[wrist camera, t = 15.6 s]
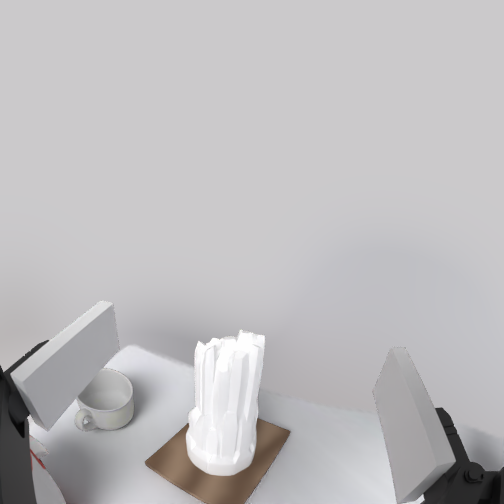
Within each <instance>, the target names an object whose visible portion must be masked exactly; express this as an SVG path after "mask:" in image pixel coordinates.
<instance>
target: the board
mask: <svg viewBox="0 0 504 504" xmlns="http://www.w3.org/2000/svg"><path fill="white" fill-rule="evenodd" d="M188 428H189V423H188V424H187V425H186V426H185V427H183V428H182V429H181V430H180V431H179V432H178V433H177V434H176V435H175V436H174V437H172V438H171V439H170V440H169V441H168V442H167V443H166V444H165V445H164V446H162V447H161V448H160V449H159V450H158V451H157V452H156V453H154V454H153V455H152V456H151V457H150V458H149V459H147V460H146V461H145V464H146V466H148V467H149V468H150V469H152V470H153V471H155V472H156V473H157V474H159V475H160V476H162V477H163V478H165V479H166V480H168V481H169V482H171V483H172V484H174V485H176V486H177V487H179V488H180V489H182V490H184V491H185V492H187V493H189V494H190V495H192V496H194V497H195V498H197V499H199V500H201V501H203V502H204V503H206V504H244V503H245V502H246V500H247V499H248V498H249V496H250V495H251V494H252V492H253V491H254V489H255V488H256V486H257V485H258V483H259V482H260V481H261V479H262V478H263V476H264V475H265V473H266V472H267V470H268V469H269V467H270V465H271V464H272V462H273V461H274V459H275V458H276V456H277V454H278V453H279V451H280V450H281V448H282V446H283V445H284V443H285V441H286V440H287V438H288V436H289V434H290V432H291V431H289V430H286V429H283V428H281V427H278V426H276V425H273V424H271V423H268V422H266V421H263V420H261V419H259V418H257V422H256V448H255V453H254V458H253V460H252V463H251V464H250V465H249V467H247V468H245V469H244V470H242V471H240V472H238V473H236V474H235V475H231V476H218V475H210V474H209V473H208V474H207V473H205V472H204V471H202V470H201V469H199V468H198V467H197V466H195V465H194V464H193V463H192V461H191V460H190V458H189V456H188V452H187V444H186V433H187V431H188Z"/></svg>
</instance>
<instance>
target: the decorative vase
mask: <svg viewBox="0 0 504 504" xmlns="http://www.w3.org/2000/svg"><path fill="white" fill-rule="evenodd" d="M264 347H265V335H256V334H255V333H253V334H252V332H245V331H244V330H242V329H240V331H239V333H238V336H237V337H231V336H227V337H224V338H221V340H220V339H216V338H212V340H211V341H210V342H209V343H207V344H206V345H205V344H204V343H203V342H201V341H198V344H197V347H196V350H195V408H193V409H192V410H191V411H190V412H188V416H189V428H188V431H187V433H186V444H187V452H188V456H189V458H190V460H191V461H192V463H193V464H194V465H195V466H197V467H198V468H199V469H201V470H202V471H204V472H205V473H207V474H208V473H209V474H210V475H218V476H231V475H235V474H236V473H238V472H240V471H242V470H244V469H245V468H247V467H249V465H250V464H251V463H252V460H253V458H254V453H255V448H256V422H257V417H258V411H259V404H258V399H257V398H258V392H259V386H260V381H261V375H262V369H263V356H264Z"/></svg>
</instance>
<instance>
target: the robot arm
mask: <svg viewBox="0 0 504 504" xmlns="http://www.w3.org/2000/svg"><path fill="white" fill-rule="evenodd" d="M119 349H120V346H119V340H118V334H117V328H116V320H115V313H114V305H113V303H109V302H105V301H100V302H98V303H97V304H96V305H95V306H93V307H92V308H91V309H90V310H88V311H87V312H85V313H84V314H83V315H82V316H80V317H79V318H78V319H76V320H75V321H74V322H73V323H71V324H70V325H69V326H67V327H66V328H65V329H64V330H62V331H61V332H60V333H59V334H57V335H56V336H55V337H54V338H52V339H51V340H50V341H49V340H47V341H44V342H42V343H40V344H38V345H37V346H35V347H34V348H33V349H32V350H31V351H29V352H28V353H27V354H25V356H23V357H22V358H21V359H19V360H18V361H17V362H16V363H15V364H13V365H12V366H11V367H10V368H9V369H7V370H6V371H5V372H3V370H2V368H1V366H0V504H37V501H36V496H35V490H34V483H33V476H32V467H31V456H30V441H29V422H28V419H27V417H28V416H29V415H31V416H32V418H33V420H34V422H35V423H36V424H37V425H39V426H40V427H42V428H43V429H45V430H46V431H49V430H50V428H51V427H52V426H53V425H54V424H55V422H56V421H57V420H58V419H59V418H60V416H61V415H62V414H63V413H64V412H65V411H66V409H67V408H68V407H69V406H70V405H71V404H72V402H73V401H74V400H75V399H76V398H77V397H78V395H79V394H80V393H81V392H82V391H83V390H84V389H85V387H86V386H87V385H88V384H89V383H90V382H91V381H92V379H93V378H94V377H95V376H96V375H97V374H98V373H99V372H100V370H101V369H102V368H103V367H104V366H105V365H106V364H107V363H108V361H109V360H110V359H111V358H112V357H113V356H114V355H115V354H116V353H117V351H118V350H119ZM373 395H374V399H375V403H376V406H377V410H378V414H379V418H380V422H381V426H382V431H383V435H384V439H385V444H386V448H387V453H388V458H389V462H390V467H391V472H392V478H393V483H394V488H395V494H396V500H397V504H401V503H407V502H412V501H415V500H417V499H418V498H419V497H420V496H421V495H422V494H424V499H425V500H424V501H423V502H422V503H421V504H504V467H503V468H502V469H501V470H500V471H485V470H484V469H483V468H482V466H481V465H479V464H477V463H474V462H470V461H469V459H468V456H467V454H466V451H465V449H464V447H463V444H462V442H461V439H460V437H459V435H458V434H457V430H456V428H455V427H454V424H453V421H452V419H451V417H450V415H449V414H448V413H447V412H446V411H445V410H444V409H443V408H434V406H433V403H432V401H431V399H430V397H429V395H428V393H427V390H426V388H425V386H424V384H423V382H422V380H421V378H420V376H419V374H418V372H417V370H416V368H415V366H414V364H413V362H412V360H411V358H410V356H409V354H408V352H407V350H406V348H402V347H391V348H390V351H389V353H388V356H387V358H386V361H385V364H384V366H383V368H382V371H381V373H380V375H379V378H378V380H377V382H376V385H375V387H374V389H373Z"/></svg>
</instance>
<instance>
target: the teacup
mask: <svg viewBox="0 0 504 504" xmlns="http://www.w3.org/2000/svg"><path fill="white" fill-rule="evenodd" d="M76 399H77V402H78V405H79V408H80V410H79V411H78V412H77V414H76V416H75V424H76V426H77V427H78V428H79V429H80V430H82V431H90V430H92V429H96V428H100V429H105V430H115V429H119V428H121V427H123V426H125V425H126V424H127V423H128V422H129V421H130V420H131V418H132V416H133V413H134V398H133V386H132V383H131V381H130V380H129V379H128V378H127V377H126V376H125V375H124V374H122V373H120V372H119V371H116V370H113V369H108V368H102V369H101V370H100V372H99V373H98V374H97V375H96V376H95V377H94V378H93V379H92V381H91V382H90V383H89V384H88V385H87V386H86V387H85V389H84V390H83V391H82V392H81V393H80V394H79V395H78V397H77V398H76ZM84 418H85V419H86V420H87V421H88V423H86V424H84V425H83V421H84Z"/></svg>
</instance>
